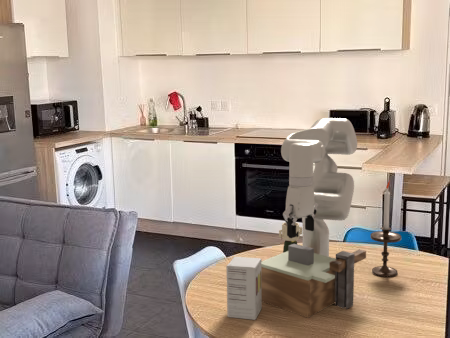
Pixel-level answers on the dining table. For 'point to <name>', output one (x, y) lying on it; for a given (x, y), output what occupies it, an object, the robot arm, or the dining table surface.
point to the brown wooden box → (309, 289)
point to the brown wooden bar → (341, 263)
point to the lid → (301, 263)
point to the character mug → (289, 239)
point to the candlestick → (385, 240)
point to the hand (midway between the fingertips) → (300, 233)
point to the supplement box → (244, 288)
